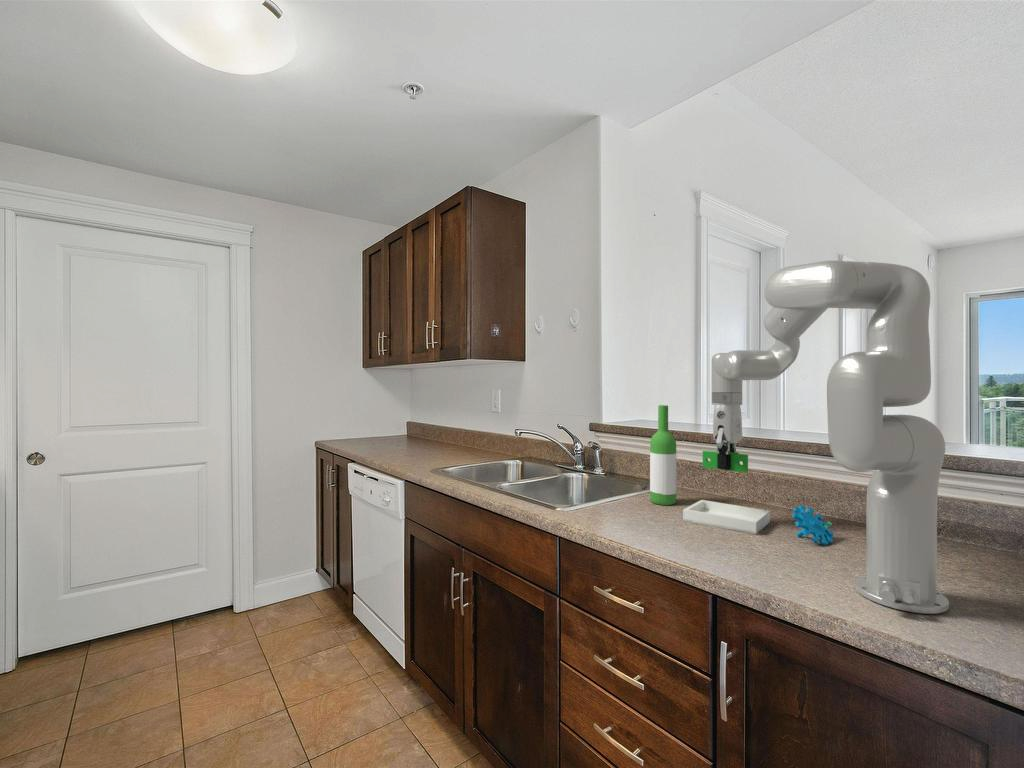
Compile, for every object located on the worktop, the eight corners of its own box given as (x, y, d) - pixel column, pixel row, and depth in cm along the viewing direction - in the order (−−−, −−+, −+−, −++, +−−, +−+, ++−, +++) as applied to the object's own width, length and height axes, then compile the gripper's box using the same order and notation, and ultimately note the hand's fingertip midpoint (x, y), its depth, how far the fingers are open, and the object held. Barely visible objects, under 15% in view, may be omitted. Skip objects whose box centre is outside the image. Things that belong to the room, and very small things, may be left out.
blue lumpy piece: (812, 541, 107) (788, 502, 114) (793, 554, 111) (771, 515, 118) (847, 543, 111) (822, 505, 118) (828, 555, 115) (805, 517, 122)
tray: (756, 534, 118) (756, 522, 118) (683, 520, 129) (683, 509, 129) (770, 521, 128) (770, 510, 128) (701, 510, 140) (701, 499, 140)
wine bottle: (655, 498, 154) (655, 404, 154) (679, 501, 149) (679, 405, 149) (646, 503, 148) (646, 405, 147) (671, 507, 143) (671, 406, 143)
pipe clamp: (750, 471, 127) (750, 453, 126) (746, 473, 124) (747, 455, 124) (707, 465, 134) (707, 449, 134) (702, 467, 131) (702, 450, 131)
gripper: (732, 400, 120) (732, 474, 120) (750, 398, 132) (750, 465, 133) (701, 399, 125) (701, 470, 125) (722, 398, 137) (722, 462, 137)
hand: (726, 467), depth 129 cm, fingers closed on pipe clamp, 3 cm apart
